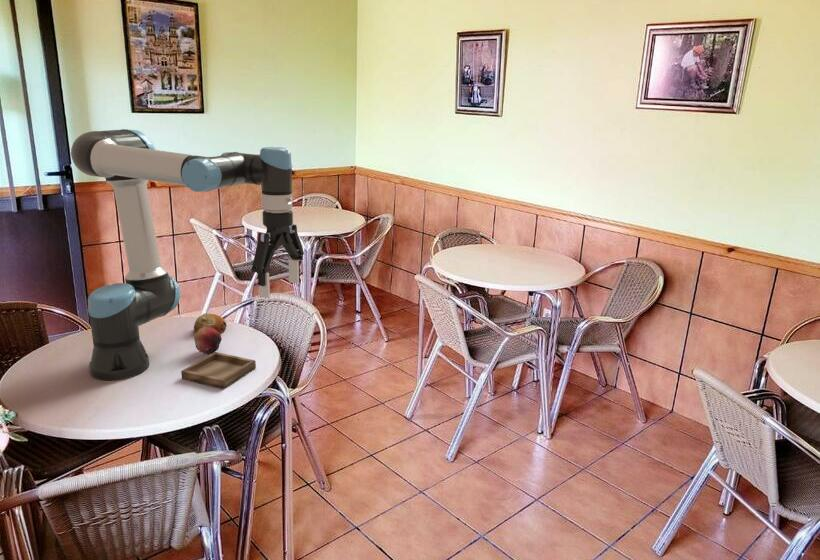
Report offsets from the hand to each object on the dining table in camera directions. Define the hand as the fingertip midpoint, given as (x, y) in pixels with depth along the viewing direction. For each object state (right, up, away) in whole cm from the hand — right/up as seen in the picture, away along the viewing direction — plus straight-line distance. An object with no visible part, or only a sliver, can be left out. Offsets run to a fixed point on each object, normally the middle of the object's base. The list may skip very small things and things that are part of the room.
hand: (279, 289), depth 158 cm
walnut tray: (-19, -24, +9) cm, 31 cm away
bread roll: (-31, -15, +39) cm, 52 cm away
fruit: (-26, -20, +22) cm, 40 cm away
